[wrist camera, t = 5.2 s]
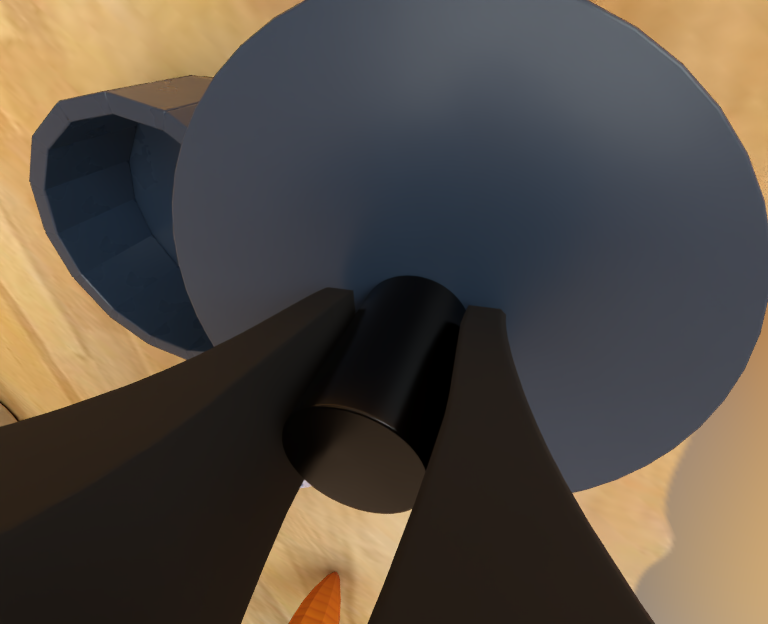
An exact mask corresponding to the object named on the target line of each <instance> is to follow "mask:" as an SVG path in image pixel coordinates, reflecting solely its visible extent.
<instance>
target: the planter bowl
mask: <svg viewBox="0 0 768 624" xmlns="http://www.w3.org/2000/svg"><path fill="white" fill-rule="evenodd" d="M15 422H18V421H17V420H16V419H15V417H14V416H13V415H12V414H11V413H10V412H9V411H8V410H7V409H6V408H5V407H4V406H3V405H2V404H1V403H0V427H1V426H4V425H8V424H12V423H15Z"/></svg>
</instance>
